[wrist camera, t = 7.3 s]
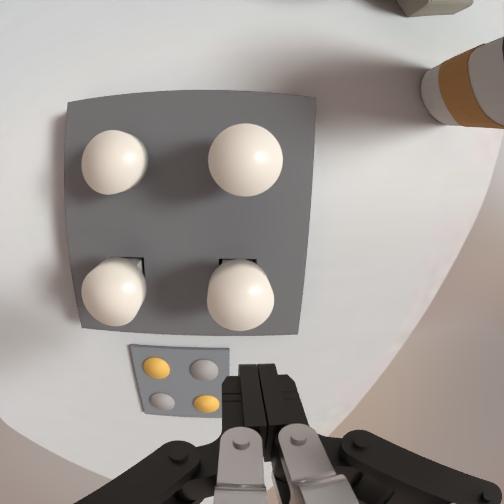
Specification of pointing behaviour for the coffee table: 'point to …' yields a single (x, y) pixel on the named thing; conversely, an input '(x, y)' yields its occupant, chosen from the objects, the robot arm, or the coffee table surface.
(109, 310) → the button
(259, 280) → the button
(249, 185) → the button
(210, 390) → the card
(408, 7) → the digital clock
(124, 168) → the button
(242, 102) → the board
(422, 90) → the coffee cup
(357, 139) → the coffee table surface
